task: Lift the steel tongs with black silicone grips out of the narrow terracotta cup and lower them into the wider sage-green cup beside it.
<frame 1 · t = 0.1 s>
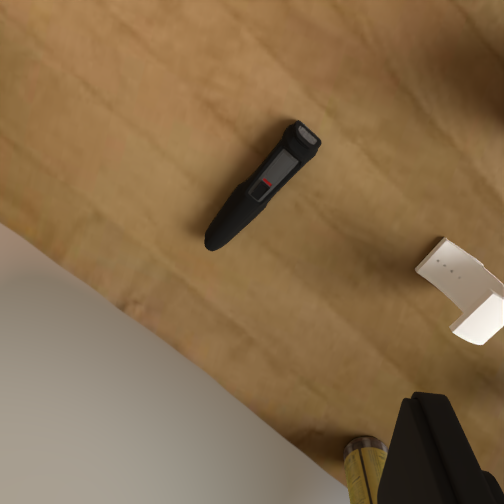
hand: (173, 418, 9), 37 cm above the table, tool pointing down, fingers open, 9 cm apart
sauce bottle: (366, 450, 58), on the table
electric trimmer: (261, 186, 45), on the table
headphone stand: (450, 267, 47), on the table
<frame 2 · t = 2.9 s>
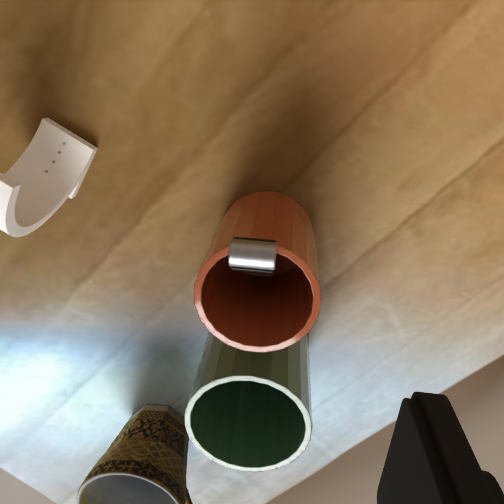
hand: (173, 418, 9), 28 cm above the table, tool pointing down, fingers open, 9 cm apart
ceramic cup: (171, 432, 49), on the table
terracotta cup: (266, 236, 38), on the table, touching tongs
headphone stand: (61, 162, 37), on the table
tongs: (263, 268, 38), point 1 cm above the table, touching terracotta cup
green cup: (258, 339, 43), on the table
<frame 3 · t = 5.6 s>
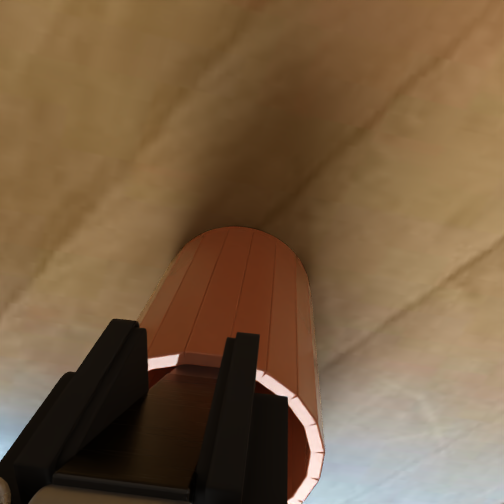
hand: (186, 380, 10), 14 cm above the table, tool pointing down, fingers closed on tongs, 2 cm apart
terracotta cup: (237, 293, 25), on the table, touching tongs
tongs: (233, 342, 25), point 1 cm above the table, touching gripper, terracotta cup
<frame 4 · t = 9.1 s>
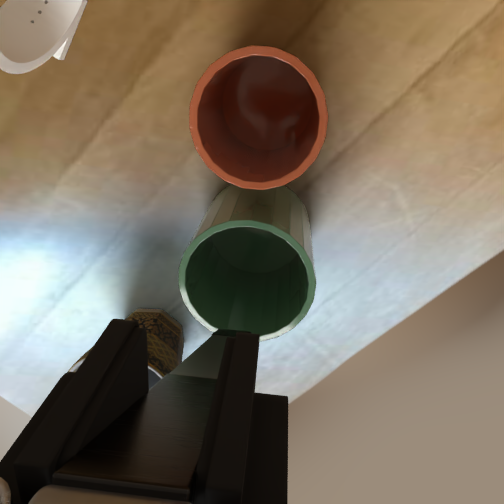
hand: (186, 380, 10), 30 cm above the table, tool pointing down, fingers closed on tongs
ceramic cup: (165, 341, 47), on the table
terracotta cup: (267, 104, 36), on the table
headphone stand: (48, 20, 35), on the table
tongs: (233, 342, 25), point 17 cm above the table, touching gripper
green cup: (257, 228, 40), on the table
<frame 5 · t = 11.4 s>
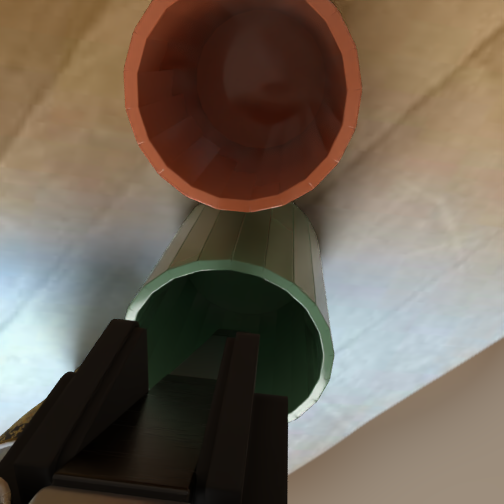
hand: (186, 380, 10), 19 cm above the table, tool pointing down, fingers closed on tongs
ceramic cup: (129, 396, 36), on the table
terracotta cup: (261, 82, 25), on the table
tongs: (233, 342, 25), point 6 cm above the table, touching gripper
green cup: (248, 255, 30), on the table
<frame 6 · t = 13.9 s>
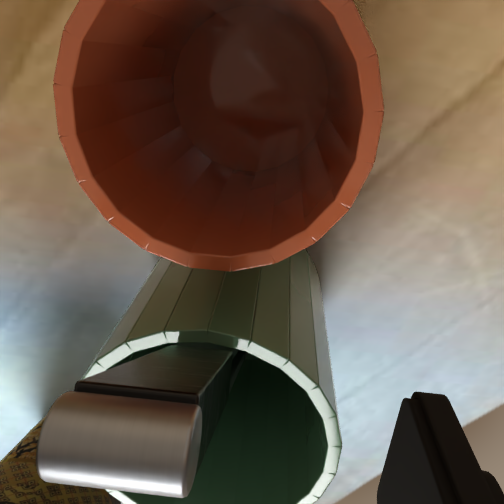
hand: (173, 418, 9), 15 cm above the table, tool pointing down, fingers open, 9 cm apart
ceramic cup: (104, 446, 32), on the table
terracotta cup: (250, 93, 21), on the table
tongs: (232, 340, 26), point 1 cm above the table, touching green cup
green cup: (237, 292, 25), on the table, touching tongs
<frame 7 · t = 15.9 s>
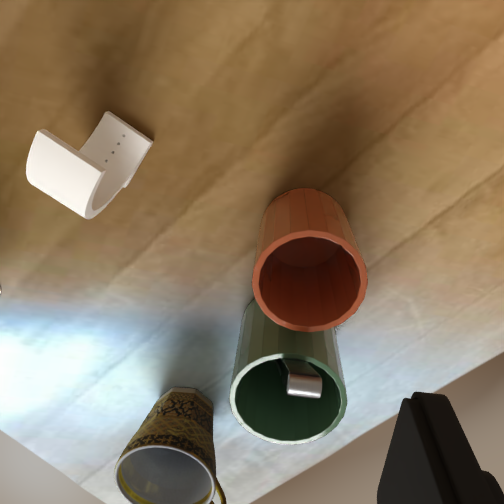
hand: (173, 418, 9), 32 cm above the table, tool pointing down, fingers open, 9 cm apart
ceramic cup: (195, 414, 52), on the table
terracotta cup: (303, 229, 41), on the table
headphone stand: (116, 153, 40), on the table
tongs: (283, 353, 46), point 1 cm above the table, touching green cup
green cup: (287, 326, 46), on the table, touching tongs
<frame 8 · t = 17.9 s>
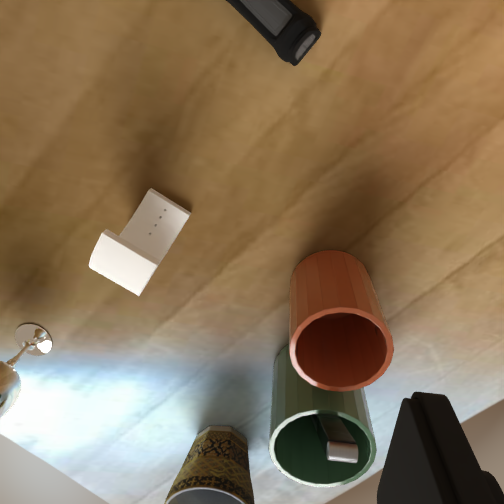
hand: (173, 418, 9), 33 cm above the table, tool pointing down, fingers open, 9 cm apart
ceramic cup: (230, 449, 56), on the table
terracotta cup: (329, 286, 45), on the table
wineglass: (34, 338, 51), on the table
headphone stand: (157, 223, 44), on the table
tongs: (312, 395, 50), point 1 cm above the table, touching green cup
green cup: (315, 371, 49), on the table, touching tongs
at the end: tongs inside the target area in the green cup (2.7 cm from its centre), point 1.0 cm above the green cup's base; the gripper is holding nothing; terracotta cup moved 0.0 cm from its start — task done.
